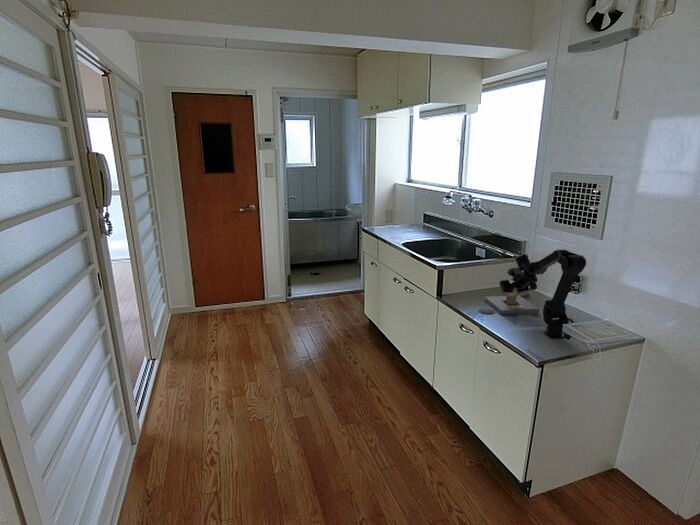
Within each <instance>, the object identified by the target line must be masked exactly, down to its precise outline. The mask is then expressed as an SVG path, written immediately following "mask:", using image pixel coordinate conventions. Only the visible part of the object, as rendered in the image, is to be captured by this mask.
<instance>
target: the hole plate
mask: <svg viewBox="0 0 700 525" xmlns="http://www.w3.org/2000/svg"><path fill="white" fill-rule="evenodd" d="M506 296H507V295H499V296H498V295H497V296H484V302H486V303H487V304H488V305H489V306H491V308H493V309H494V310H496V312H498V313H499V314H500V315H513V314H514V315H519V314H529V315H530V314H533V315H540V314H539V313H540V308H539V307H538V306H536V305H535V304H533V303H532V302H530V301H528V300H527V299H525V298H524V297H523V296H519V295H517V299H516V305H507V304H506Z"/></svg>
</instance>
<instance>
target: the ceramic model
mask: <svg viewBox="0 0 700 525" xmlns="http://www.w3.org/2000/svg"><path fill="white" fill-rule="evenodd" d="M508 280H509V281H513V280H512V278H509V279H508ZM500 292H501V293H502V294H504V296H507V293H506V292H502V290H501V291H500ZM529 293H530V292H529V291H523V292H517V295H519V296H521V297H527V296H528V295H529ZM526 295H527V296H526Z"/></svg>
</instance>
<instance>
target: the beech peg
mask: <svg viewBox="0 0 700 525" xmlns="http://www.w3.org/2000/svg"><path fill="white" fill-rule="evenodd" d="M509 282H510V284H512V282H514V281H509ZM517 290H518V289H517V288H514V289H513V292H510V293H507V295H505V296H506V304H507V305H516V299H517Z"/></svg>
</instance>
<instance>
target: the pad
mask: <svg viewBox="0 0 700 525" xmlns="http://www.w3.org/2000/svg"><path fill="white" fill-rule="evenodd" d="M478 312H479V313H480V314H482V315H490V316H492V315H495V313H496V312H495V311H494V310H493V309H490V308H479V309H478Z"/></svg>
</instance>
